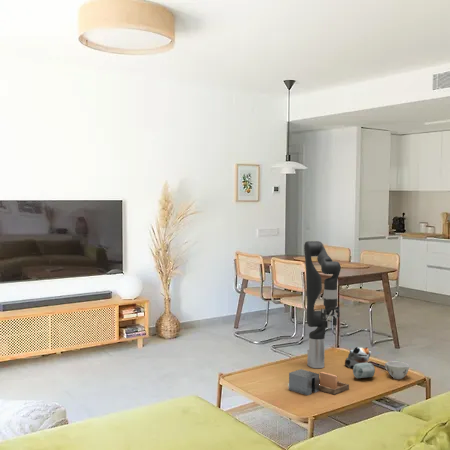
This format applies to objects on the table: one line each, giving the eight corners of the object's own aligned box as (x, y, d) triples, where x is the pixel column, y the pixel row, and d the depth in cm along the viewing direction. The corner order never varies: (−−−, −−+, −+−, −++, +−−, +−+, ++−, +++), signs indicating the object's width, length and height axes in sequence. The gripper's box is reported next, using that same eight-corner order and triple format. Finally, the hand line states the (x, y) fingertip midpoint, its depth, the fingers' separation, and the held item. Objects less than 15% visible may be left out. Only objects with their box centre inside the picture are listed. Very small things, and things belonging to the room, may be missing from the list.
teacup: (413, 378, 307) (414, 364, 306) (399, 382, 300) (399, 368, 299) (391, 372, 319) (392, 358, 319) (377, 375, 312) (378, 361, 312)
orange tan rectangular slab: (319, 385, 292) (320, 372, 292) (321, 384, 293) (321, 371, 293) (335, 389, 285) (335, 376, 285) (337, 389, 286) (337, 375, 286)
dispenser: (288, 389, 286) (289, 372, 286) (300, 385, 293) (301, 369, 293) (307, 395, 277) (307, 378, 277) (319, 391, 284) (319, 374, 284)
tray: (309, 387, 290) (309, 382, 290) (324, 382, 299) (324, 377, 299) (334, 395, 278) (334, 390, 278) (348, 389, 287) (349, 384, 287)
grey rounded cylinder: (359, 379, 297) (364, 361, 299) (346, 374, 306) (352, 357, 307) (375, 384, 304) (380, 366, 305) (363, 379, 312) (368, 362, 314)
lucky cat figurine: (365, 364, 334) (366, 342, 333) (373, 371, 322) (374, 348, 321) (342, 364, 332) (343, 342, 331) (349, 371, 320) (350, 348, 319)
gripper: (332, 295, 309) (331, 323, 309) (317, 297, 299) (316, 327, 299) (343, 296, 303) (343, 325, 304) (328, 299, 293) (328, 329, 294)
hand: (330, 326), depth 302 cm, fingers open, 8 cm apart
